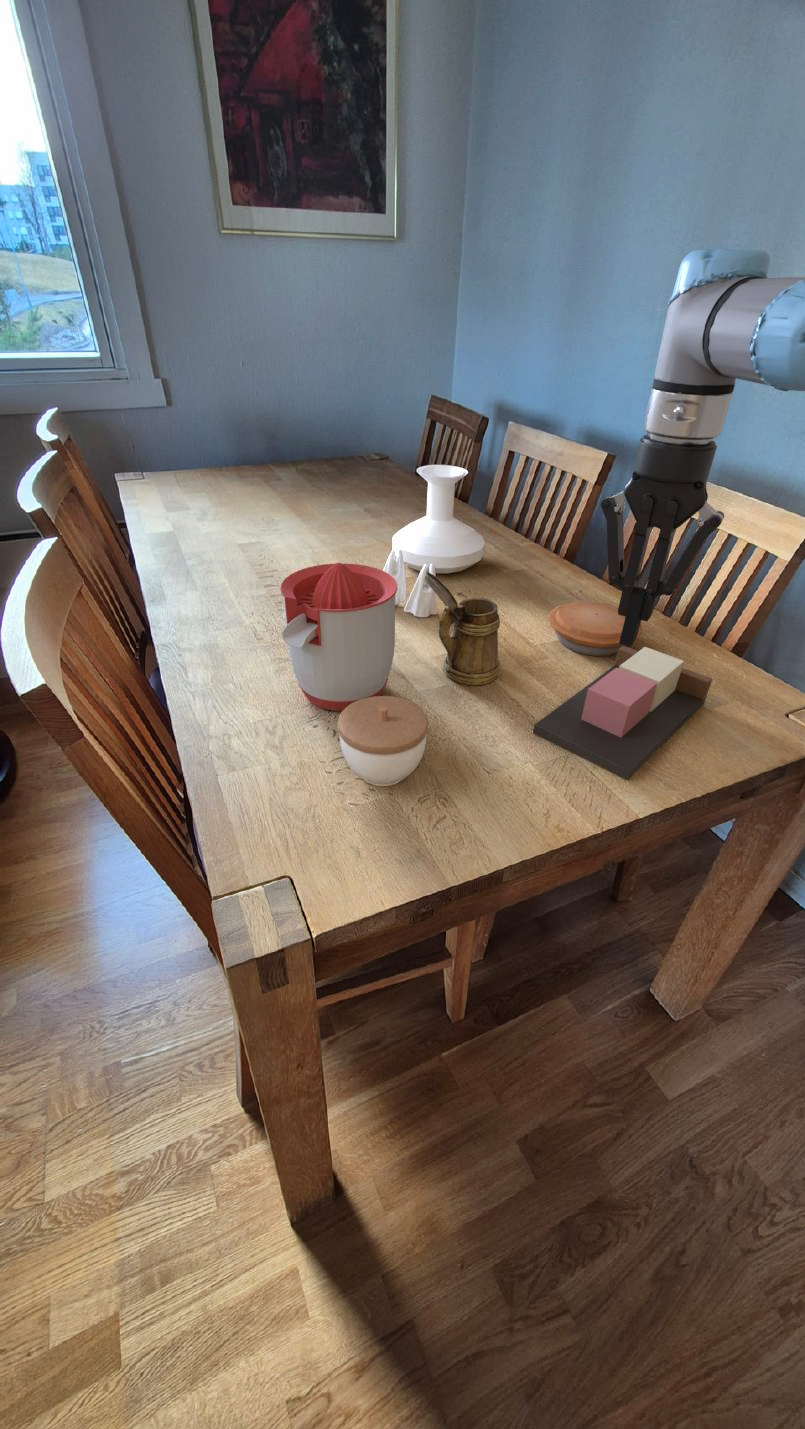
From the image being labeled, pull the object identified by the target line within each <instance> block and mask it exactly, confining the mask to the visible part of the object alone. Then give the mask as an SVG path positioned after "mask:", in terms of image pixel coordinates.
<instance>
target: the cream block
mask: <svg viewBox="0 0 805 1429" xmlns="http://www.w3.org/2000/svg"><path fill="white" fill-rule="evenodd" d="M638 651H639V652H637V653H636V654H635V655H633V656H632V657H631V658H629V659H628V660H627V661H625V662H624V663H623V664H621V665H620V666H619V669H622V670H624V671H627V672H629V673H632V674H634V675H637V676H639V677H642V678H645V679H647V680H650V681H652V682H655V683H657V686H656V689H655V692H654V696H653V699H652V702H651V706H650V709H649V711H650V712H651V711H652V710H653V709H655V708H656V707H657V706H658V705H659V704H660V703H661V702H662V701H664V700H665V699H666V698H667V697H668V696H669V695H670V694H671V693H672V692H674V691H675V689H676V685H677V682H678V679H679V676H680V673H681V670H682V668H684V663H685V661H684V660H682V659H680V658H677V657H675V656H671V655H669V654H666V653H663V652H660V651H658V650H655V649H652V648H649V647H647V646H644V647H642V648H641V649H640V650H638Z"/></svg>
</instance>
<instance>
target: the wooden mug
mask: <svg viewBox="0 0 805 1429" xmlns="http://www.w3.org/2000/svg"><path fill="white" fill-rule="evenodd" d="M426 581H427V583H428V584H429V585H430V587H431V588H432V589H433V591H434V592H435V593H436V594H437V598H439V600H440V601H441V602H442V603H443V604H444V606H445V607H444V609H443V611H442V612H441V615H440V619H439V622H438V637H439V639H440V641H441V644H442V645H443V647H444V649H445V651H446V653H447V654H446V656H445V657H444V660H443V663H442V671H443V673H444V674H445V675H446V676H447V677H448V678H449V679H450V680H452V681H454V682H456V683H458V684H462V685H465V686H469V687H470V686H482V685H483V686H484V685H488V684H490V683H492V682H494V681H495V680H497V679H498V678H499V677H500V675H501V662H500V660H499V635H498V634H499V629H500V626H501V621H500V615H499V612H498V609H499V608H498V604H496V603H495V602H494V601H492V600H491V599H487V598H484V597H483V598H482V597H481V598H480V597H471V598H467V599H464V600H461V601H459V603H458V601H457V599H456V598H455V596H454V595H453V594H452V593H451V591H450V590H449V589H448V588H447V587H446V585H444V583H443V582H442V581H441V580H440V579H439V578H437V576H436V577H435V576H434V575H432V574H431V573H429V572H426V575H425V582H426ZM451 627H452V631H451V634H450V630H451Z"/></svg>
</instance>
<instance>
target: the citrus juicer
mask: <svg viewBox="0 0 805 1429" xmlns="http://www.w3.org/2000/svg"><path fill="white" fill-rule="evenodd" d="M279 589H280V594H281V595H282V597H283V598H282V599H283V608H284V620H285V627H284V628H283V630H282V634H281V637H282V640H283V642H284V643H285V644H287V649H288V653H289V654H288V655H289V658H290V659H289V660H290V663H291V666H292V669H293V673H294V676H295V677H296V680H297V684H298V686H299V688H300V689H301V691H302V693H303V694H304V696H305V698H306V700H308V701H309V702H310V703H311V704H312V705H314V706H316V707H319V708H321V709H324V710H329V711H338V712H342V711H343V710H344V709H345V708H346V707H347V706H349V705H350V704H352V703H354V702H356V701H358V700H361V699H364V698H368V697H374V696H382V694H383V692H384V690H385V688H386V686H387V684H388V681H389V675H390V673H391V669H392V665H393V661H394V656H395V646H396V645H395V643H396V641H395V640H396V605H395V594H396V592H397V589H398V588H397V583H396V581H395V579H394V578H393V577H392V576H391V575H390V574H388V573H386V572H384V571H383V569H382V570H381V569H379V568H377V567H373V566H369V565H363V564H358V563H342V562H335V563H325V564H317V565H313V566H308V567H305V568H302V569H300V570H297V571H295V572H293V573H291V574H290V575H288V576H287V577H285V578H284V579H283V581H282V582H281V584H280V588H279Z"/></svg>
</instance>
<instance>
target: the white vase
mask: <svg viewBox="0 0 805 1429" xmlns="http://www.w3.org/2000/svg"><path fill="white" fill-rule="evenodd" d="M416 473H417V474H419V476H420V477H421V478H423V479H424V480H425V481H426V482H427V497H426V515H425V516H423V517H421V518H419V519H416V520H415V521H411V522H410V523H409V524H407V525H405V526H404V527H403V528H401V529H399V530H398V531H397V532H396V533H395V534H394V535H393V536H392V550H395V557H396V558H397V553H398V550H401V551H402V555H403V562H404V565H407V567H408V568H410V569H412V570H416V571H418V572H421V570H422V568H423V566H424V565H425V564H427V570H426V573H427V572H429V568H430V565H431V564H433V565H434V567H435V574H453V573H459V572H462V571H465V570H466V569H469V568H470V567H472V566H474V565H475V564H477V563H479V562H480V561H481V560H482V558H483V557H484V555H485V551H486V550H485V549H486V541H485V539H484V537H483V536H482V535H481V534H480V533H479V532H477V531H476V530H475V529H474V528H473V527H471V526H469V525H467V524H465V523H464V522H462V521H460V519H459V520H458V519H457V518H455V517H454V505H455V491H456V483H458V482H459V481H460V480H461V479H463V478H464V477H465V476H467V475H468V474H469V471H468V470H467V469H465V468H464V467H460V466H456V465H449V464H448V465H447V464H427V465H423V466H419V467H418V468H416Z"/></svg>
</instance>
